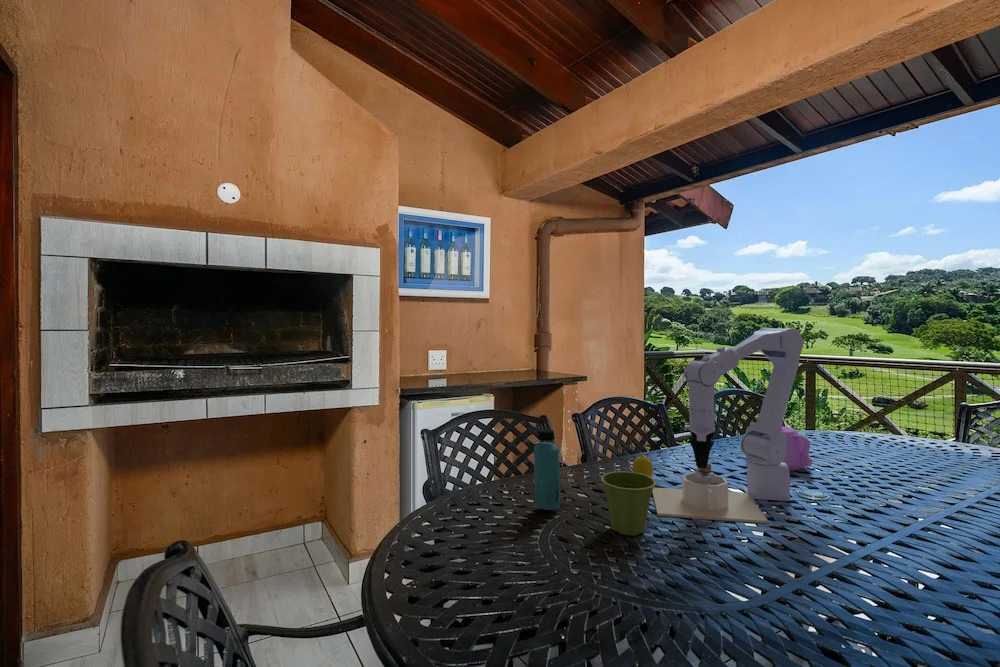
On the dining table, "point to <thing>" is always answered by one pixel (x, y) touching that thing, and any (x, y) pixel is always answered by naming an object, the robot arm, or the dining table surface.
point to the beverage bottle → (546, 472)
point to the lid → (705, 475)
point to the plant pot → (628, 500)
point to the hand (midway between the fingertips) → (701, 463)
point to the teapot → (795, 449)
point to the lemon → (643, 466)
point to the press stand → (706, 501)
